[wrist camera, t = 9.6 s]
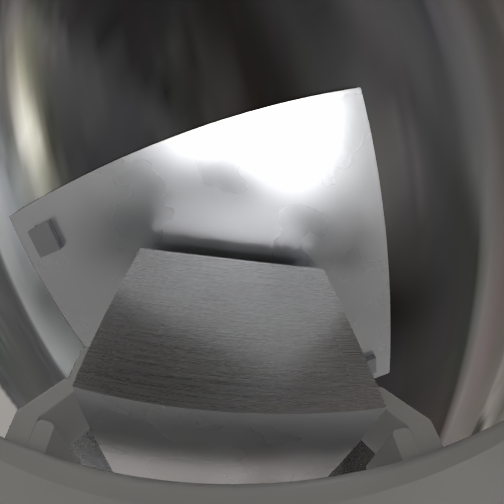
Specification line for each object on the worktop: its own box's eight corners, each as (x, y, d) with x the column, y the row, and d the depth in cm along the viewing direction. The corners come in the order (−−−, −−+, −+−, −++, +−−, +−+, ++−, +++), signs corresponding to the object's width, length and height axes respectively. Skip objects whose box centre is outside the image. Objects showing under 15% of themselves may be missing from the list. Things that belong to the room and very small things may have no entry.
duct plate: (386, 366, 15) (413, 421, 12) (154, 420, 16) (146, 475, 13) (354, 88, 9) (417, 83, 6) (15, 212, 10) (-43, 255, 6)
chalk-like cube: (323, 269, 11) (386, 407, 5) (284, 384, 13) (303, 499, 8) (140, 248, 10) (72, 386, 5) (147, 372, 12) (123, 489, 7)
